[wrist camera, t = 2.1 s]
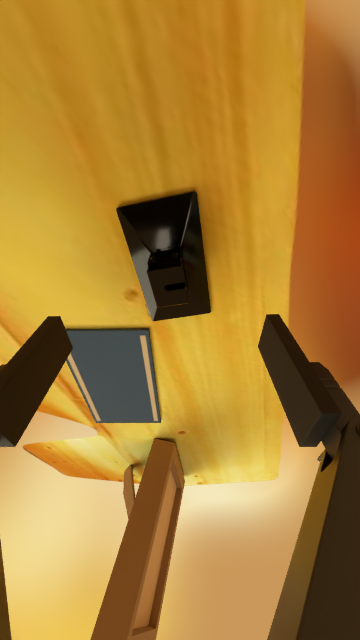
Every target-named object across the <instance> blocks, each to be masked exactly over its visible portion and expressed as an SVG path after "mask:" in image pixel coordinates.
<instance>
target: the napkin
mask: <svg viewBox="0 0 360 640" xmlns="http://www.w3.org/2000/svg"><path fill="white" fill-rule="evenodd" d="M66 332H67V334H68V336H69V339H70V341H71V344H72V346H73V349H72V351H71V353H70V354H69V356H68V358H67V359H66V361H67V364H68V366H69V368H70V370H71V372H72V374H73V376H74V378H75V380H76V382H77V384H78V386H79V389H80V391H81V393H82V395H83V397H84V399H85V401H86V403H87V405H88V407H89V409H90V411H91V414H92V416H93V418H94V420H95V422H96V423H161V418H160V410H159V403H158V395H157V387H156V380H155V372H154V364H153V357H152V349H151V342H150V334H149V329H148V328H147V329H66Z"/></svg>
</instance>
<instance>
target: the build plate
mask: <svg viewBox="0 0 360 640" xmlns="http://www.w3.org/2000/svg"><path fill="white" fill-rule="evenodd" d="M117 214H118V217H119V220H120V223H121V226H122V229H123V232H124V235H125V238H126V241H127V244H128V247H129V251H130V254H131V257H132V260H133V263H134V266H135V269H136V272H137V275H138V278H139V281H140V284H141V287H142V290H143V294H144V297H145V300H146V308H147V311H148V314H149V316H150V317H151V318H152V320H153V321H158V320H165V319H172V318H179V317H186V316H193V315H199V314H206V313H210V312H211V307H210V299H209V291H208V282H207V274H206V266H205V257H204V249H203V241H202V232H201V224H200V215H199V207H198V199H197V193H196V192H195V191H191V192H186V193H181V194H176V195H172V196H167V197H162V198H158V199H153V200H148V201H143V202H139V203H134V204H129V205H125V206H120V207H118V208H117Z"/></svg>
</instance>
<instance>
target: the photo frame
mask: <svg viewBox="0 0 360 640" xmlns="http://www.w3.org/2000/svg"><path fill="white" fill-rule="evenodd" d="M184 483H185V480H184V476H183V472H182V468H181V465H180V461H179V457H178V453H177V449H176V445H175V443H173V442H169V441H164V440H159V439H154V441H153V444H152V448H151V451H150V454H149V457H148V460H147V463H146V466H145V470H144V473H143V476H142V479H141V482H140V485H139V489H138V492H137V495H136V498H135V491H134V481H133V472H132V466H129V468H128V469H127V470H126V471H125V472H124V491H123V492H124V493H123V494H124V499H125V504H126V509H127V514H128V519H129V520H128V523H127V526H126V530H125V533H124V536H123V539H122V542H121V545H120V548H119V552H118V555H117V558H116V562H115V564H114V567H113V571H112V574H111V578H110V580H109V583H108V586H107V589H106V593H105V596H104V599H103V602H102V605H101V608H100V612H99V615H98V618H97V621H96V624H95V627H94V631H93V634H92V637H91V640H156V634H157V630H158V625H159V619H160V613H161V608H162V603H163V597H164V592H165V586H166V580H167V575H168V570H169V565H170V559H171V554H172V548H173V543H174V537H175V532H176V527H177V521H178V515H179V510H180V505H181V499H182V494H183V489H184Z"/></svg>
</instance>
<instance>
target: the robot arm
mask: <svg viewBox="0 0 360 640" xmlns="http://www.w3.org/2000/svg"><path fill="white" fill-rule="evenodd" d="M258 348H259V350H260V353H261V355H262V358H263V360H264V362H265V365H266V367H267V370H268V372H269V375H270V377H271V379H272V382H273V384H274V387H275V389H276V391H277V394H278V396H279V399H280V401H281V403H282V406H283V408H284V411H285V413H286V416H287V418H288V420H289V423H290V425H291V428H292V430H293V432H294V435H295V437H296V440H297V442H298V444H299V446H300V447H317V445H318V444H319V443H320V441H322V443H323V445H324V446H325V450H324V452H323V453H322V454H321V455H320V456H319V458H318V460H319V461H321V462H320V465H319V469H318V472H317V475H316V478H315V482H314V485H313V488H312V492H311V495H310V499H309V502H308V505H307V508H306V512H305V515H304V519H303V522H302V525H301V529H300V532H299V535H298V539H297V542H296V545H295V549H294V552H293V555H292V559H291V562H290V566H289V569H288V572H287V575H286V579H285V582H284V585H283V589H282V592H281V596H280V599H279V602H278V606H277V609H276V612H275V615H274V619H273V622H272V625H271V629H270V632H269V636H268V639H267V640H360V414H359V413H358V411H357V410H356V408H355V407H354V406H353V404H352V403H351V401H350V400H349V398H348V397H347V396H346V394H345V393H344V391H343V390H342V389H341V388H340V386H339V384H338V383H337V382H336V380H334V377H333V376H332V374H331V373H330V372H329V370H328V369H326V368H325V367H324V366H323V365H322V364H320V363H319V362H309V361H308V359H307V358H306V356H305V354H304V353H303V351H302V350H301V348H300V347H299V345H298V344H297V342H296V340H295V339H294V337H293V336H292V334H291V333H290V331H289V329H288V328H287V326H286V325H285V323H284V322H283V320H282V319H281V317H280V315H279V314H268V315H266V319H265V322H264V326H263V330H262V334H261V337H260V341H259V345H258ZM72 349H73V346H72V344H71V341H70V339H69V336H68V334H67V332H66V329H65V327H64V324H63V322H62V320H61V317H60V316H48V317H47V318H46V320H45V321H44V322H43V323H42V324H41V325H40V326H39V328H38V329H37V330H36V331H35V332H34V333H33V334H32V336H31V337H30V338H29V339H28V340H27V341H26V342H25V344H24V345H23V346H22V347H21V348H20V349H19V351H18V352H17V353H16V354H15V355H14V356H13V357H12V359H11V360H10V361H9V362H8V363H7V364H6V365H1V366H0V447H15V446H16V445H17V443H18V441H19V440H20V438H21V436H22V434H23V433H24V431H25V429H26V428H27V426H28V424H29V422H30V421H31V419H32V417H33V416H34V414H35V412H36V411H37V409H38V407H39V406H40V404H41V402H42V400H43V399H44V397H45V395H46V394H47V392H48V390H49V388H50V387H51V385H52V383H53V382H54V380H55V378H56V377H57V375H58V373H59V371H60V370H61V368H62V366H63V365H64V363H65V361H66V359H67V358H68V356H69V354H70V353H71V351H72ZM8 614H9V613H8V604H7V595H6V586H5V578H4V568H3V559H2V550H1V541H0V640H11V632H10V623H9V615H8Z"/></svg>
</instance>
